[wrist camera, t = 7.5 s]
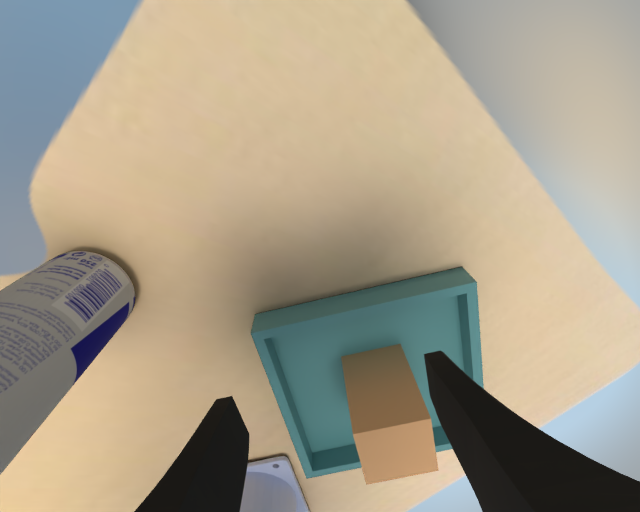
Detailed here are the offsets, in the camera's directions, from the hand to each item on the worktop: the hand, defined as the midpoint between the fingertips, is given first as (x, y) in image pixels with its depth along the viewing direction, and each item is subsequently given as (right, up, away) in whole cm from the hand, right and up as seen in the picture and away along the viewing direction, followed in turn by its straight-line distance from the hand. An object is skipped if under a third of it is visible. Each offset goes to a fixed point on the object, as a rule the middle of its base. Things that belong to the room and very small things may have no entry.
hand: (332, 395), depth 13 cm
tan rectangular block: (+3, -3, +11) cm, 12 cm away
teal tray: (+3, -3, +12) cm, 13 cm away
